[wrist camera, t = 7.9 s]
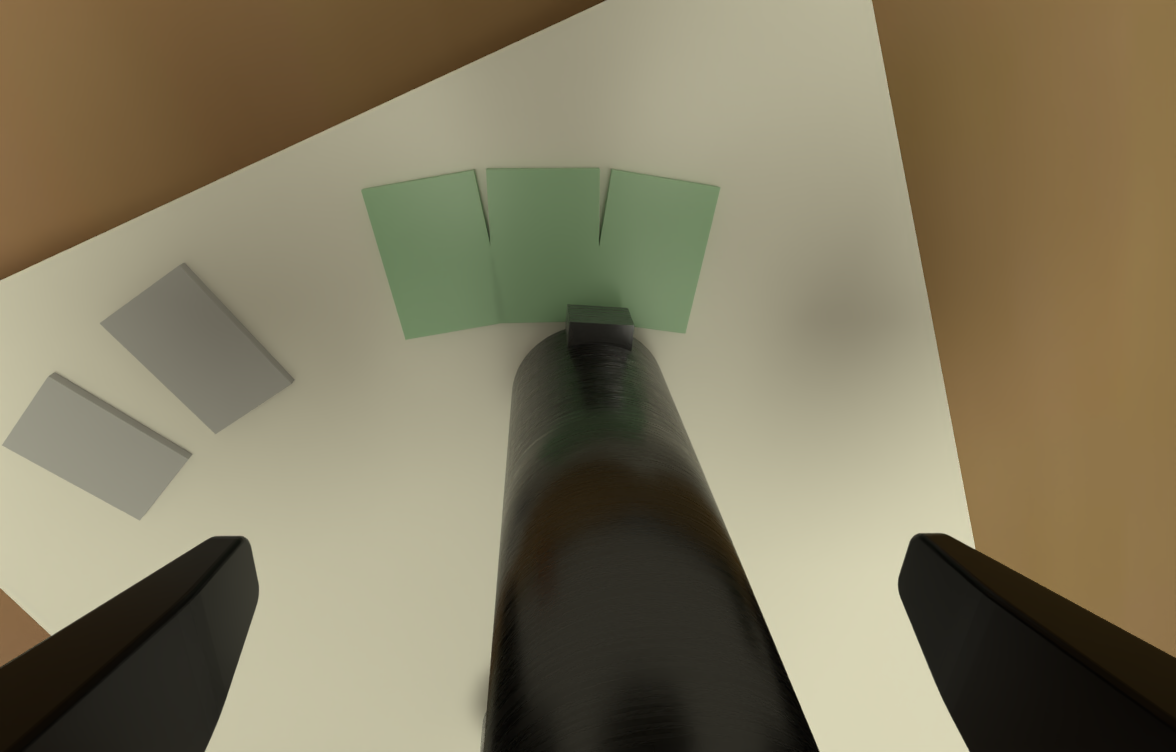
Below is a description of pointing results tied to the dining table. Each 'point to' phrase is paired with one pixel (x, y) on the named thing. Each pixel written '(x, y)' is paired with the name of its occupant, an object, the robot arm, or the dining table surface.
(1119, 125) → the dining table surface
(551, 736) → the dark knobbed cylinder
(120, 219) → the dining table surface
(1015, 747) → the robot arm
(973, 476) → the dining table surface
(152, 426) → the dial plate
